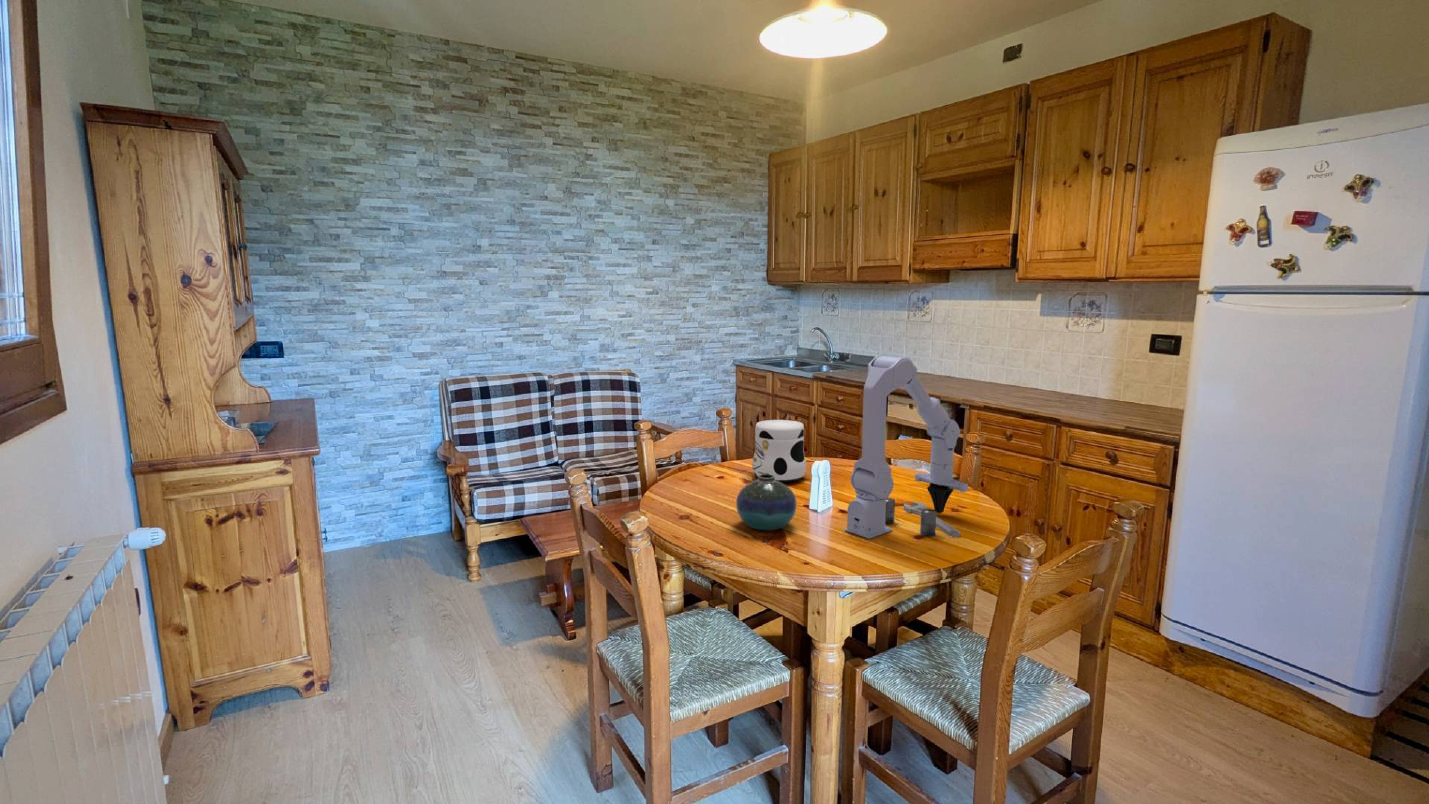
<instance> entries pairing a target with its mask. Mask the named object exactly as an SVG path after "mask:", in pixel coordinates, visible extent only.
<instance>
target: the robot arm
mask: <svg viewBox="0 0 1429 804" xmlns="http://www.w3.org/2000/svg"><path fill="white" fill-rule="evenodd" d="M917 372H918V369H917V367H916V366H915V365H914V363H913V360H911V359H910V358H908V357H897V356H888V355H883V354H878V355H877V356H875V357H874V358H872V360H871V361H870V362H868V364H867V377H866V380H865V383H864V385H863V401H862V408H863V409H862V434H861V435H862V437H861V438H862V441H861V458H859V459H858V460H856V461H855V462H854V463H853V470H852V473H851V477H850V484H851V487H852V488H853V489H854V493H855V494H856V496H855V498H854V499H853V500H852V501H850V503H848V506H847V519H846V520H847V521H846V527H844V531H846V532H849V533H852V534H855V535H857V536H861V537H863V538H866V539H873V538H875V537H878V536H880V535H883V534H886V533H888V532H891V531H893V527H892V528H891V527H890V526H886V524H885V514H886V499H887V498H889V496H890V495H891V494H892V492H893V489H894V485H895V484H894V479H893V476H892V468H891V466H890V465H889V463H888V462H887V460H886V458H885V455H886V430H887V429H886V427H887V426H886V424H887V421H886V420H887V397H888V396H889V395H890V394H891V393H892V392H894V391H896V390H897V389H899V388H901V387H903V388H904V390H905V391H906V392H907V393H908V394H909V396H910V397H911V398H912V400H913V401H915V403H916V404H917V406H916V412H917V413H918V415H919V416H920V418H921V419H922V421H923V422H924V423H925V426H926V433H927V435H928V436H929V437H931V446H930V447H931V449H930V463H929V465H930V466H929V467H930V468H929V474H928V473H922V472H921V473H920V472H918V473H915V475H914V481H915V482H918V483H919V482H922V483H927V484H929V486H927V488H926V490H927V491H928V493H929V495H930V498H931V501H932V503H933V508H934V509H933V510H936V514H942V513H944V511H945V507H946V506H947V505H946V504H947V503H948V500H949V498H950V496H951V495H952V493H953V491H954V490H955V491H959V492H961V493H966V492H968V491H969V484H968V483H965V482H962V481H959V480H957V479H954V478H953V476H954V473H953V472H954V457H955V455H954V454H955V453H954V452H955V448H956V446H957V440H958V438H959V437H960V433H961V429H960V427H959V424H958V423H957V421H956V420H954V419H951V418H950V416H949V413H948V412H946V411H945V409H944V408H943V407H942V405H941V400H940V399H939V398H936V397H931V396H930V395H929V394H928V392H927V390H926V389H925V387H924V385H923V382H922V381H921V380H920V378H919V376H918V373H917Z"/></svg>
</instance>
